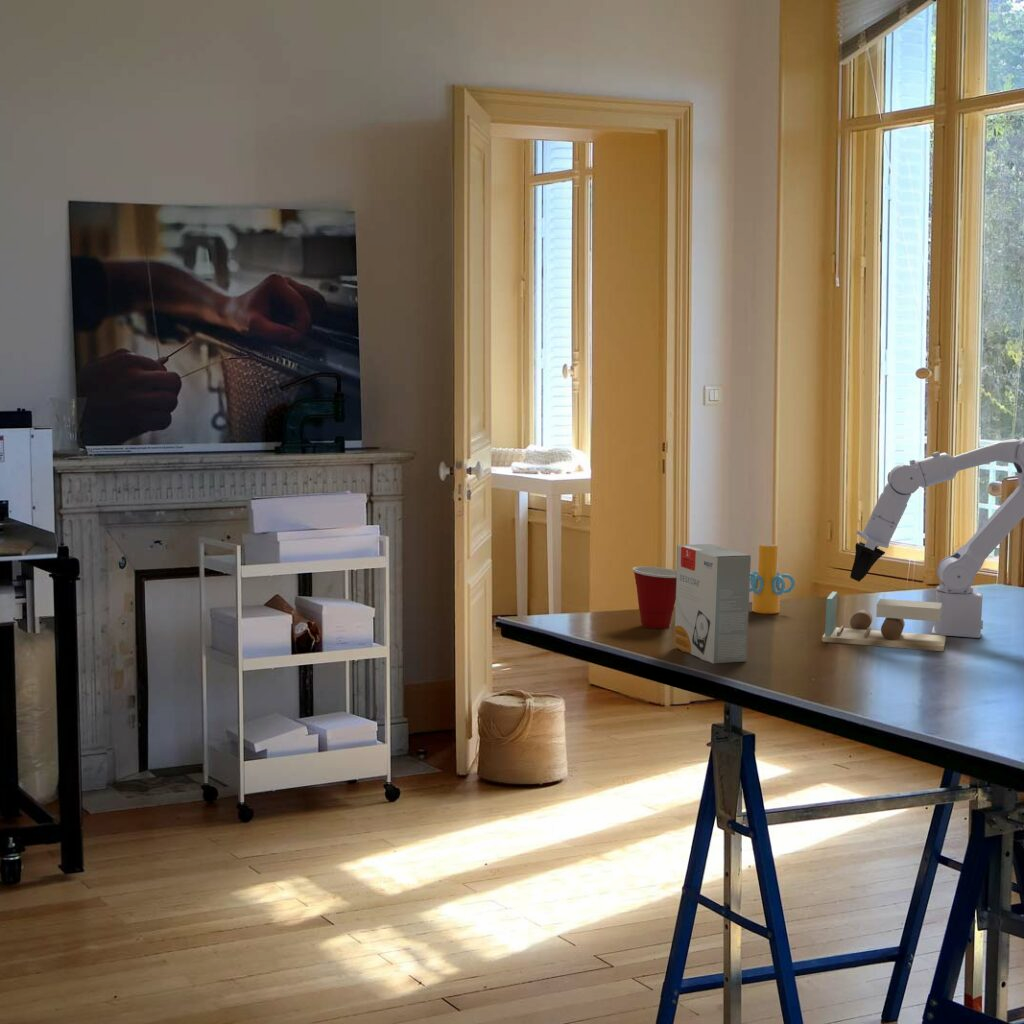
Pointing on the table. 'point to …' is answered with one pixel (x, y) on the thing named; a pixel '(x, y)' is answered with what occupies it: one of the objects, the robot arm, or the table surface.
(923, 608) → the slab
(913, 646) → the roller bed
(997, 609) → the table surface
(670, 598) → the plastic cup
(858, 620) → the roller
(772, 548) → the cylinder
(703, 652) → the hard drive box
